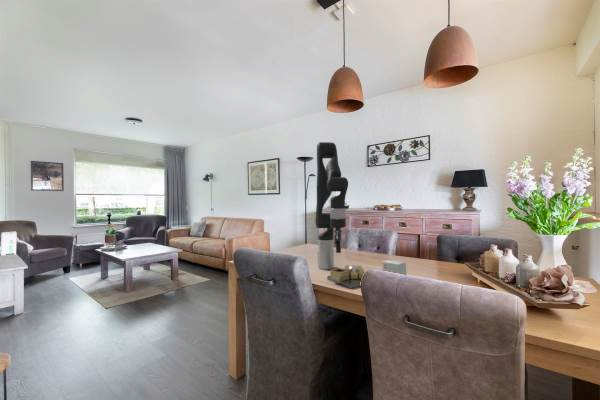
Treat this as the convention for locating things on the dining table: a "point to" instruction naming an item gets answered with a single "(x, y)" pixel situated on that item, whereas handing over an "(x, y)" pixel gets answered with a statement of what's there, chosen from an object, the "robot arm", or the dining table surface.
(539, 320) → the dining table surface
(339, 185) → the robot arm
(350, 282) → the nut base plate
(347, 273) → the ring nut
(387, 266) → the small box
